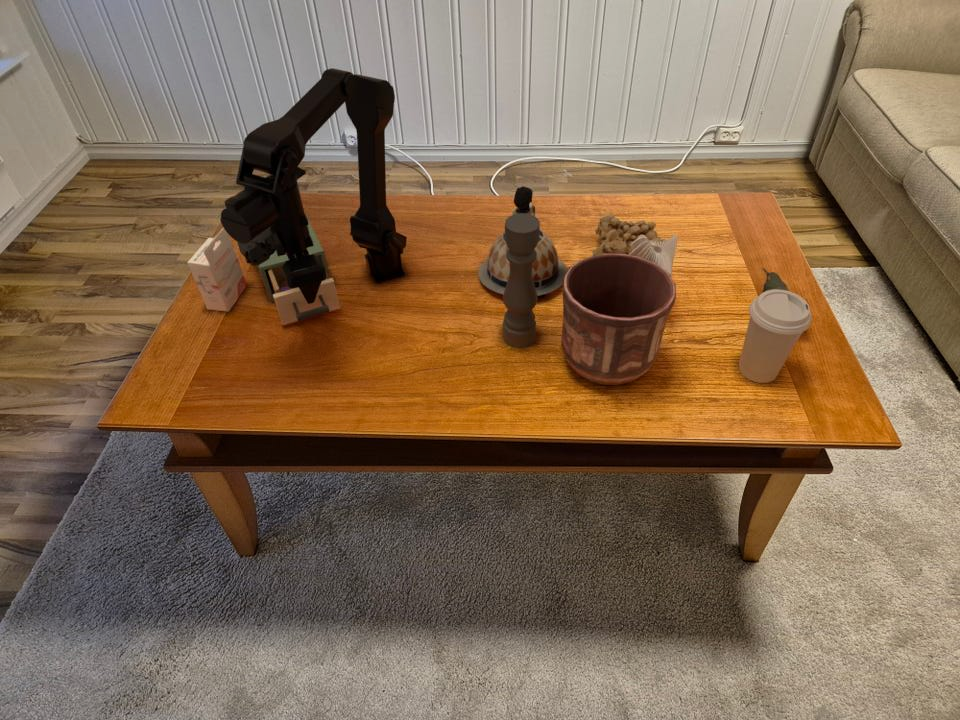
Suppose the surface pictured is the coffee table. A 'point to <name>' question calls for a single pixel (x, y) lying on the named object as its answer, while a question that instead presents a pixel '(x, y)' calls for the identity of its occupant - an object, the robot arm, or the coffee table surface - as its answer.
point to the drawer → (301, 298)
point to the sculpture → (774, 282)
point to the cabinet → (280, 260)
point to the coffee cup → (772, 333)
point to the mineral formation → (622, 235)
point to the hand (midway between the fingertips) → (305, 287)
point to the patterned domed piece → (544, 268)
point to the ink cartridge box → (218, 272)
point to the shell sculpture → (656, 251)
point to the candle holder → (520, 280)
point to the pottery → (614, 316)
